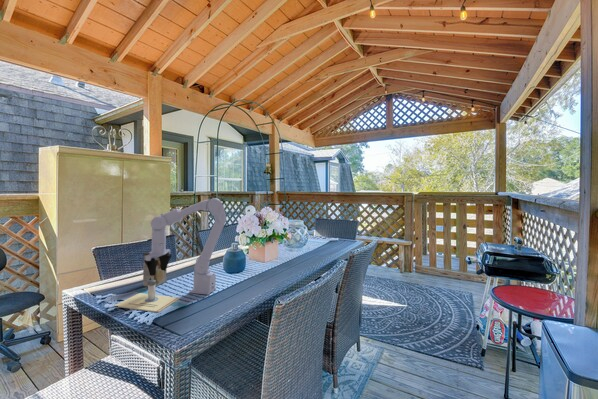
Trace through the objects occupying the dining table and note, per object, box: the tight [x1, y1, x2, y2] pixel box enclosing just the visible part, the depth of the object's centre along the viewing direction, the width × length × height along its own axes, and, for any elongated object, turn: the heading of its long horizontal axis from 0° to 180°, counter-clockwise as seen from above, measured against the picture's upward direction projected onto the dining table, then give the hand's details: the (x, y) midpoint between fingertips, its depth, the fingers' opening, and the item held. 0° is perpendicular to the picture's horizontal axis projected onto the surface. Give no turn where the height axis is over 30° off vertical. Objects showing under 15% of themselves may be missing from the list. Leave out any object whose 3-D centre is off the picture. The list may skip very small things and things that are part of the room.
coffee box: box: [142, 250, 167, 288], centre depth 141 cm, size 9×6×16 cm
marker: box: [147, 280, 157, 301], centre depth 122 cm, size 3×3×8 cm
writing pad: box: [113, 292, 181, 313], centre depth 120 cm, size 20×14×1 cm
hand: (158, 272), depth 130 cm, fingers open, 7 cm apart
